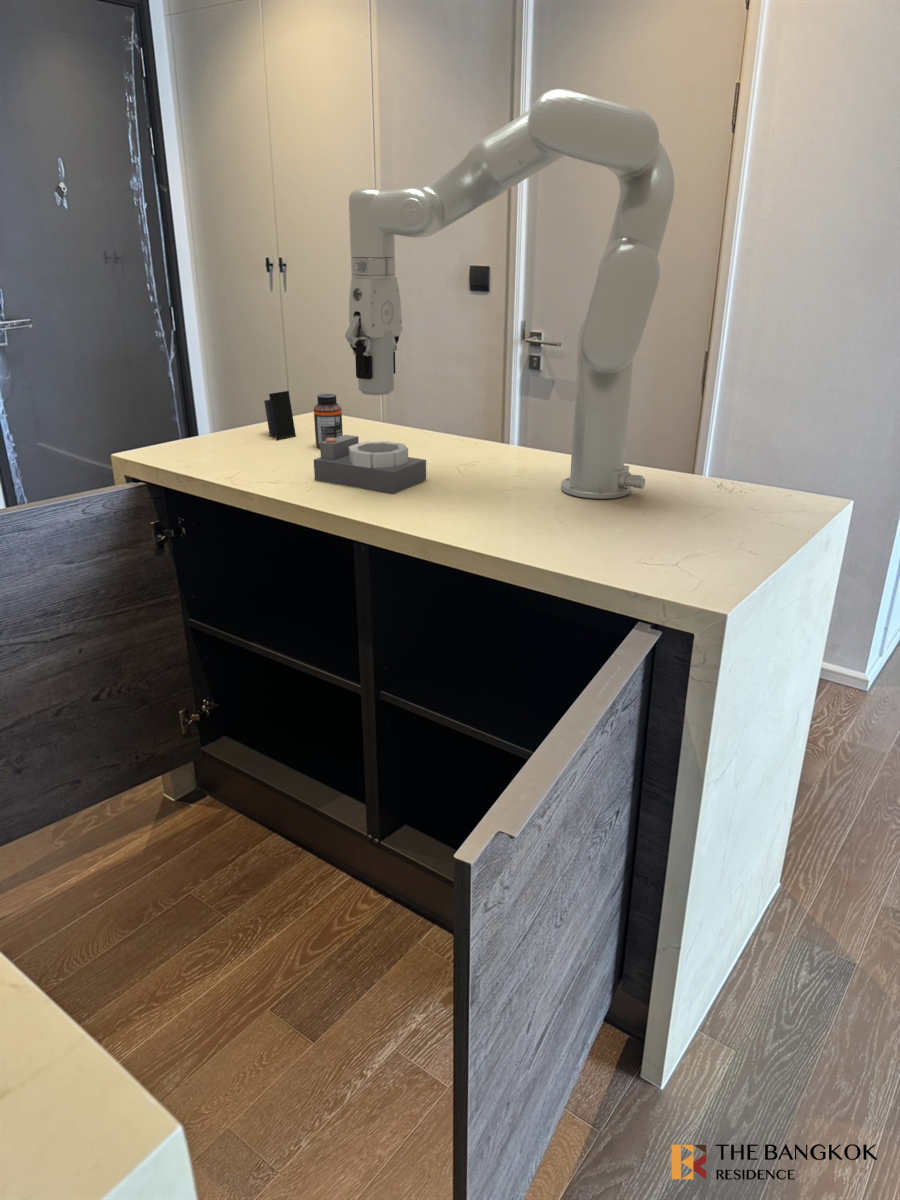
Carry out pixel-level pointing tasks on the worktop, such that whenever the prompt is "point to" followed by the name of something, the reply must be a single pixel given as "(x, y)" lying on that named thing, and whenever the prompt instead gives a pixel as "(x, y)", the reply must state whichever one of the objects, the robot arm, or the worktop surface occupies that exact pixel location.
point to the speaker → (280, 415)
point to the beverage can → (380, 366)
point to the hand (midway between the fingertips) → (376, 375)
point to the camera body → (368, 465)
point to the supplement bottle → (327, 418)
